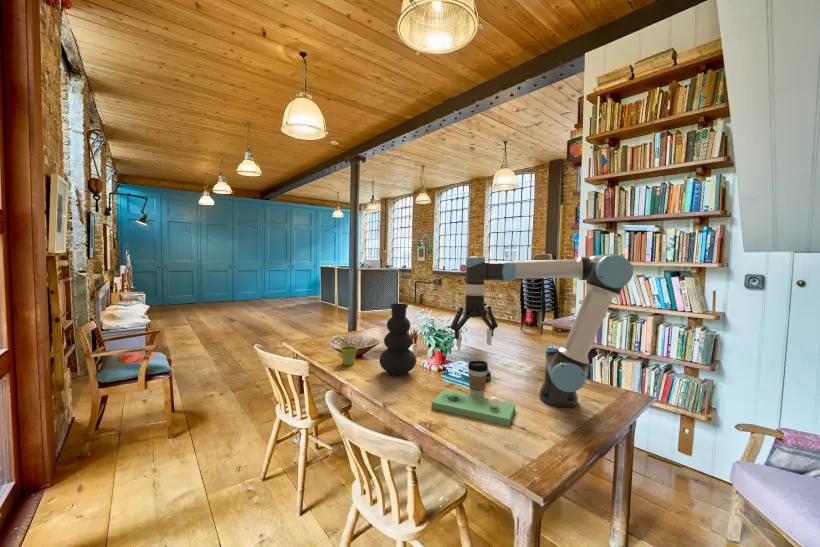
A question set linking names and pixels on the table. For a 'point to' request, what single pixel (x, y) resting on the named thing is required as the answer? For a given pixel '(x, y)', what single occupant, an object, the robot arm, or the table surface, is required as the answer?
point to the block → (474, 407)
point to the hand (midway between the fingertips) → (474, 345)
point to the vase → (398, 343)
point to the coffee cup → (477, 377)
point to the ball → (494, 402)
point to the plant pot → (348, 354)
